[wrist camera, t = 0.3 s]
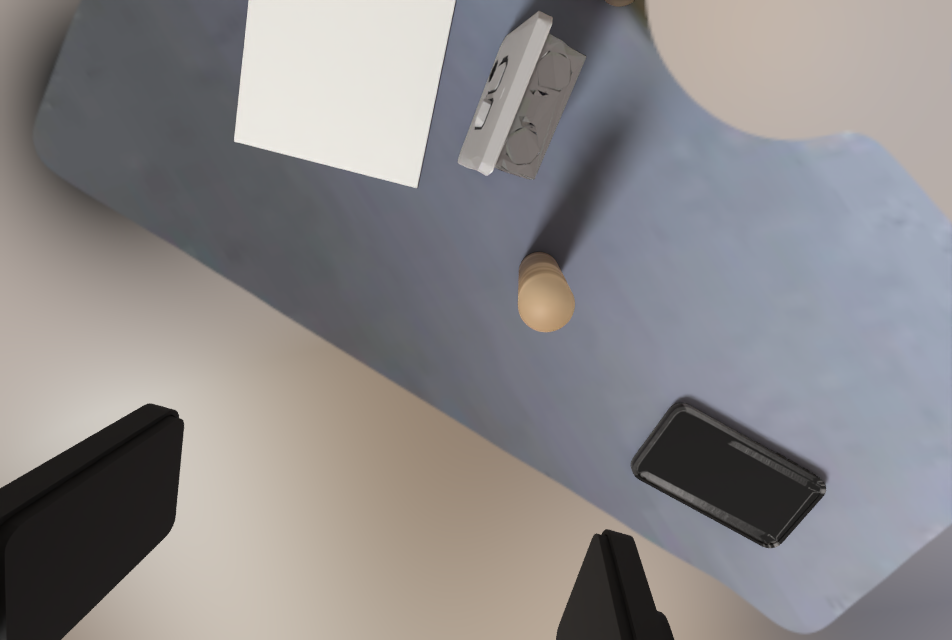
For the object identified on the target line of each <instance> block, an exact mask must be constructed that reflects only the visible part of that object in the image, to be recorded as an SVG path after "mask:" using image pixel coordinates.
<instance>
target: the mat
mask: <svg viewBox="0 0 952 640" xmlns="http://www.w3.org/2000/svg"><path fill="white" fill-rule="evenodd" d="M455 2H456V0H249V4H248V13H247V23H246V32H245V42H244V52H243V61H242V71H241V80H240V90H239V100H238V109H237V119H236V128H235V138H234V141H235V142H239V143H243V144H247V145H251V146H254V147H258V148H262V149H266V150H270V151H274V152H278V153H282V154H286V155H290V156H293V157H297V158H301V159H305V160H309V161H313V162H317V163H321V164H325V165H329V166H332V167H336V168H340V169H344V170H348V171H352V172H356V173H360V174H364V175H368V176H371V177H375V178H379V179H383V180H387V181H391V182H395V183H399V184H403V185H407V186H410V187H414V188H417V187H418V182H419V177H420V173H421V168H422V163H423V158H424V153H425V148H426V143H427V138H428V134H429V129H430V124H431V119H432V114H433V109H434V104H435V100H436V95H437V90H438V85H439V80H440V75H441V70H442V66H443V61H444V56H445V51H446V46H447V41H448V36H449V31H450V27H451V22H452V17H453V12H454V7H455Z"/></svg>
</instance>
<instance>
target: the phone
mask: <svg viewBox="0 0 952 640" xmlns="http://www.w3.org/2000/svg"><path fill="white" fill-rule="evenodd" d="M665 416H666V417H665ZM655 431H656V432H655ZM654 432H655V433H654ZM652 435H653V436H652ZM631 469H632V471H633V474H634V475H635V477H636V478H638V479H639V480H641V481H643V482H645V483H646V484H648V485H650V486H652V487H654V488H656V489H657V490H659V491H661V492H663V493H665V494H667V495H669V496H670V497H672V498H674V499H676V500H678V501H680V502H681V503H683V504H685V505H687V506H689V507H691V508H692V509H694V510H696V511H698V512H700V513H702V514H704V515H705V516H707V517H709V518H711V519H713V520H715V521H716V522H718V523H720V524H722V525H724V526H726V527H728V528H729V529H731V530H733V531H735V532H737V533H739V534H740V535H742V536H744V537H746V538H748V539H750V540H752V541H753V542H755V543H757V544H759V545H761V546H763V547H765V548H774V547H777V546H779V545H780V544H781V543H782V542H783V541H784V540H785V539H786V538H787V537H788V536H789V535H790V533H791V532H792V531H793V530H794V529H795V528H796V527H797V525H798V524H799V523H800V522H801V521H802V520H803V519H804V518H805V516H806V515H807V514H808V513H809V512H810V511H811V510H812V509H813V507H814V506H815V505H816V504H817V503H818V502H819V501H820V499H821V498H822V497H823V496H824V494H825V492H826V485H825V484H824V482H823V481H822V480H821V479H820V478H819V477H817V476H816V475H815V474H813V473H811V472H810V471H809V470H807V469H805V468H802V467H800V466H799V465H798V464H796V463H794V462H793V461H791V460H789V459H788V460H787V459H786V457H784V456H782V455H780V454H779V453H775V452H773V451H771V450H769V449H768V448H766V447H764V446H762V445H760V444H759V443H757V442H755V441H753V440H751V439H750V438H748V437H746V436H744V435H742V434H741V433H739V432H737V431H735V430H733V429H731V428H730V427H728V426H726V425H724V424H722V423H721V422H719V421H717V420H715V419H713V418H712V417H710V416H708V415H706V414H704V413H703V412H701V411H699V410H697V409H695V408H694V407H692V406H690V405H688V404H685V403H678V404H675V405H673V406H671V407H670V408H669V410H668V411H667V412H666V414H665V415H664V416H663V418H662V419H661V420H660V422H659V423H658V425H657V426H656V427H655V429H654V430H653V431H652V433H651V434H650V435H649V437H648V438H647V440H646V441H645V442H644V444H643V445H642V446H641V448H640V449H639V451H638V452H637V453H636V455H635V456H634V457H633V459H632V461H631Z"/></svg>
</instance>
